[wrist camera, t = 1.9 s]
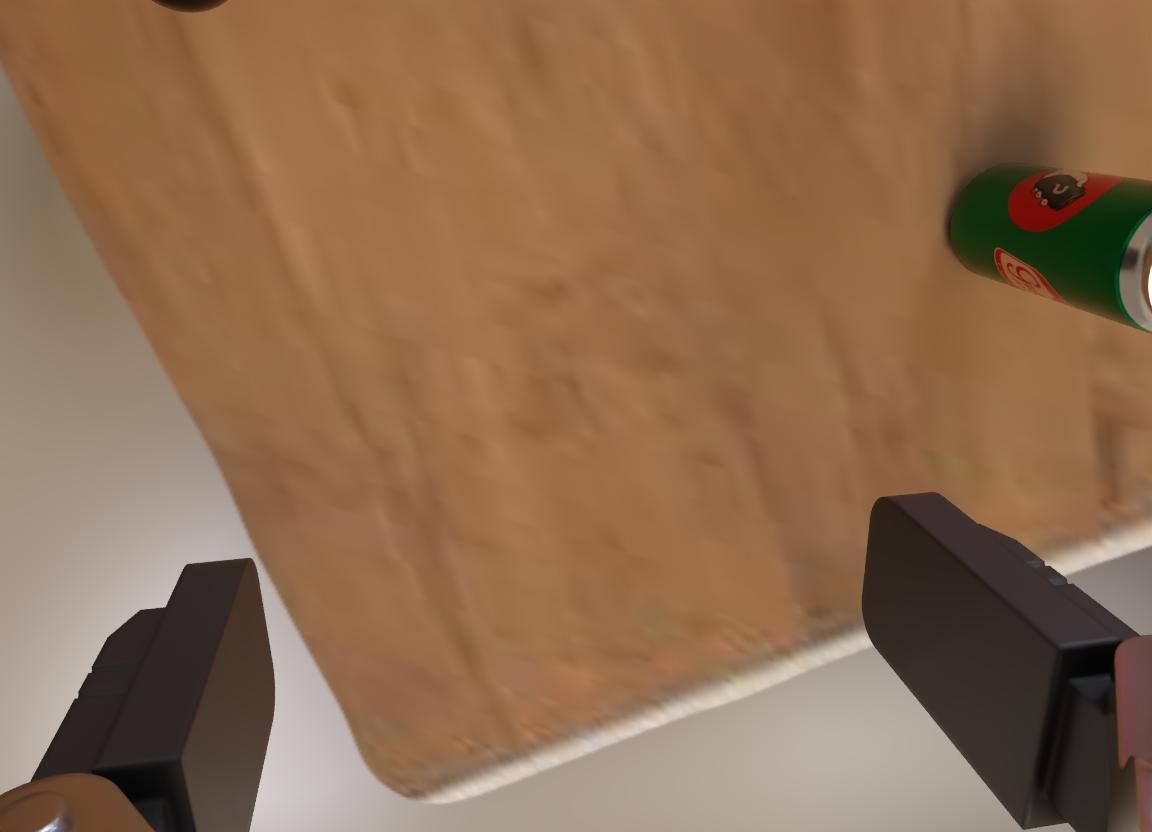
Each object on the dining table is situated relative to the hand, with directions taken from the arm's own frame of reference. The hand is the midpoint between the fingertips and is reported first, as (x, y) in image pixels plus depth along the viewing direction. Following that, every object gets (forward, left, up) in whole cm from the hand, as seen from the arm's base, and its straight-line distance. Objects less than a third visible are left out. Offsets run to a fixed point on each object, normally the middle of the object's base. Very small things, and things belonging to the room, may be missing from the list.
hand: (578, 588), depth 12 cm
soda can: (-13, +20, -28) cm, 37 cm away
